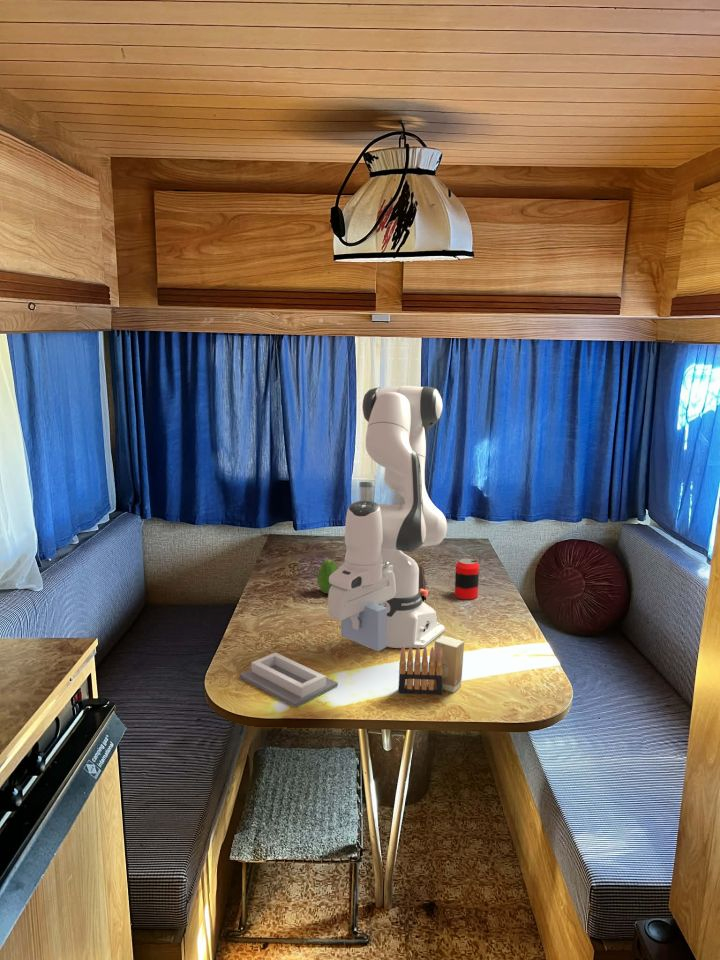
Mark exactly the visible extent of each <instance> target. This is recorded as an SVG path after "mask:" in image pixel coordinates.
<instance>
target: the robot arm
mask: <svg viewBox="0 0 720 960" xmlns="http://www.w3.org/2000/svg"><path fill="white" fill-rule="evenodd" d="M361 409H362V414H363V418H364V419H365V420H366V421H367V426H366V427H367V430H366V433H365V434H366V435H365V449H366V452H367V454H368V456H369V458H371V459H372V460H373V461H374V462H375V463H376V464H378V465H379V466H381V467H382V468H384V483H385V485H386V486H387V488H388V489H390V490H391V491H392V492H394V493H396V494H398V495H400V496H401V497H402V498H403V501H404V503H403V504H401V505H400V504H399V505H398V504H386V503H384V504H383V503H377V502H375V501H371V500H358V501H355V502H352V504H350V505H349V506H348V507H347V511H346V516H345V517H346V519H345V525H344V526H345V527H344V543H345V546H346V550H345V551H346V553H345V556H344V562H343V563H342V564H341V565H340V566H339V567H338V569H337V570H336V571H335V572H333V573H332V574H331V575H330V576H329V583H330V584H332V586H331V587H330V590H329V594H327V595H328V596H327V598H328V599H327V612H328V615H329V616H330V617H331V618H333V619H334V620H337V621H340V622H341V620H344V619H346V618H348V617H350V619H351V621H352V627H353V629H356V630H358V629H360V628H361V627H362V621H359V620H358V618H357V617H359V613H360V612H362V611H364V610H365V606H367V605H370V604H372V603H375V604H378V605H381V606H384V607H386V608H387V633H386V648H395V649H402V647H403V646H404V648H405V649H409V648H410V646H411V648H412V649H413V648H414V649H417V647H419V649H424V648H425V647H426V646H428V645H429V644H430V643H432V642H433V641H435V640H436V638H437V639H438V638H439V637H440V636H441V635H443V633H444V632H445V631H446V627H445V626H444V625H443V624H442V623H441V622H438V618H437V612H436V610H435V609H434V608H433V607H431V606H430V605H428V604H427V603H425V602H424V601H423V596H424V597H426V598H427V596H428V595H429V591H428V590H427V589H426V590H424V589H421V590H418V588H419V567H418V563H417V562H416V560H415V559H413V558H412V557H410V556H409V555H407V554H405V553H404V552H407V553H413V552H414V551H417V550H418V549H420V548H421V547H431V546H437V545H440V544H441V543H442V542H443V540H444V539H445V537H446V536H447V531H448V522H447V519H446V516H445V514H444V513H443V512H442V510H440V509H439V508H438V507H437V506H436V505H435V504H434V503H433V502H432V500H431V499H430V497H429V494H428V492H427V488H426V482H425V481H426V480H425V477H426V476H425V473H426V471H425V470H426V456H427V455H426V454H427V442H426V440H427V439H426V432H429V431H430V429H431V427H433V426H435V425H436V424H437V422H438V421H439V420H440V418H441V415H442V412H443V399H442V397H441V393H440V391H439V390H438V389H437V388H435V387H432V386H428V385H427V386H426V385H425V386H419V385H418V386H417V385H416V386H415V385H399V386H387V387H379V386H378V387H374V388H370V389H369V390H368V391H367V392H366V393H365V394H364V397H363V400H362V408H361ZM421 596H422V598H421Z"/></svg>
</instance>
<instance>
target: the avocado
mask: <svg viewBox="0 0 720 960" xmlns="http://www.w3.org/2000/svg"><path fill="white" fill-rule="evenodd" d="M338 568H339V567H338V565H337V564H336V562H335V560H333V559H331V558H326V559H325V560H324V561H322V563H321V565H320V567H319V571H318V573H317V584H318V588H319V589H320V591H321V592H322V593H323V594H326V593H327V594H326V595H328V594H329V590H330V587H331V586H332V584H330V583H329V576H330V575H331V574H332V573H333V572H335V571H336V570H337V569H338Z"/></svg>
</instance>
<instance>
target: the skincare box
mask: <svg viewBox="0 0 720 960" xmlns="http://www.w3.org/2000/svg"><path fill="white" fill-rule="evenodd" d="M439 648H441V651H442V664H443V668H442V690H444V691H447V692H450V693H455V692H457V691H458V690H459V689H460V688H461V687H462V681H463V680H462V679H463V664H464V663H463V662H464V650H465V641H463V640H460V639H458V638H453V637H450V636H446V635H443V634H441V635H440V636H438V637H437V639H435V640H434V647H433V649H434V653H435V672H436V662H437V653H438V649H439Z"/></svg>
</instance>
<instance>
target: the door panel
mask: <svg viewBox="0 0 720 960" xmlns="http://www.w3.org/2000/svg"><path fill="white" fill-rule="evenodd" d="M357 618H358V620H359V621H362V627H361V628H360V629H358V630H356V629H353V627H352V621H351V619H350V617H348V618H346V619H344V620H341V621H340V636H341V637H344V638H345V639H347V640H350V641H352V642H355V643H357V644H360V645H361V646H364V647H366V648H369V649H371V650H373V651H376V652H380V651H381V650H384V649H385V648H387V646H386V633H387V608H386V607H384V606H381V605H378V604H375V603H372V604H370V605H367V606H365V610H364V611H362V612H360V613H359V617H357Z"/></svg>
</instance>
